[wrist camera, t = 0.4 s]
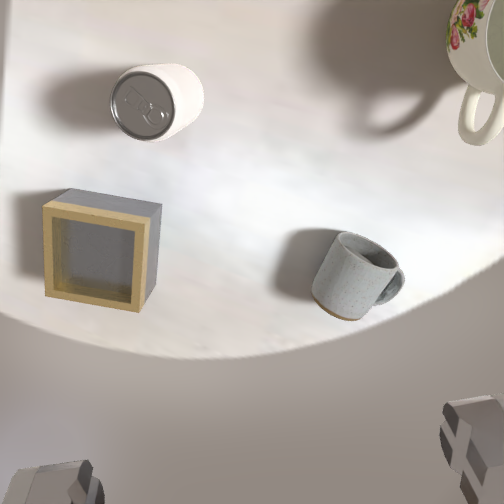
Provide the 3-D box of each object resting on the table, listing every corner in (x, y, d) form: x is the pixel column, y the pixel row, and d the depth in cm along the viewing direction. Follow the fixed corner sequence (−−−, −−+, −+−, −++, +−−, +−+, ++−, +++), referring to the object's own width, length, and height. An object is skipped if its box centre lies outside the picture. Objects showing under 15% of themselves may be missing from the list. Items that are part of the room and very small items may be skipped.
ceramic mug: (305, 280, 57) (308, 313, 50) (334, 223, 53) (341, 249, 46) (381, 310, 58) (395, 345, 51) (414, 256, 54) (434, 286, 47)
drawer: (71, 188, 54) (42, 205, 48) (162, 204, 54) (144, 224, 48) (72, 283, 59) (45, 310, 53) (154, 298, 59) (138, 327, 53)
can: (183, 138, 51) (153, 161, 40) (134, 100, 50) (90, 113, 39) (217, 90, 49) (195, 100, 38) (167, 49, 47) (129, 47, 36)
